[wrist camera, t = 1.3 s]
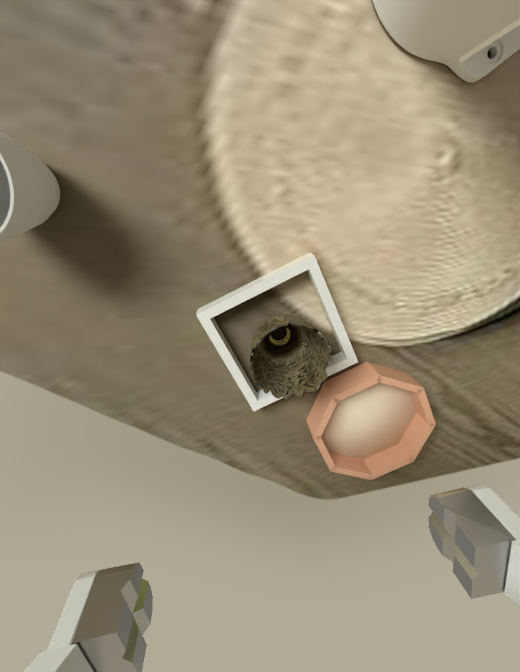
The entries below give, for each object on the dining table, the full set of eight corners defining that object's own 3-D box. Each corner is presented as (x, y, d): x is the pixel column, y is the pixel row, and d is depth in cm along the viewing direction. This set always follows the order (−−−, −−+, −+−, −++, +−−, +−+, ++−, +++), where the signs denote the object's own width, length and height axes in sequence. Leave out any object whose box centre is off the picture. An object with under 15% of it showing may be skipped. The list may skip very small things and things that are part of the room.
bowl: (398, 346, 39) (414, 359, 36) (427, 430, 44) (443, 448, 41) (293, 395, 40) (299, 412, 37) (333, 472, 45) (342, 492, 42)
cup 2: (299, 368, 39) (317, 407, 31) (238, 356, 37) (241, 392, 30) (320, 309, 36) (344, 335, 29) (255, 293, 35) (263, 315, 28)
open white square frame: (309, 252, 34) (314, 255, 32) (352, 354, 39) (358, 362, 37) (197, 309, 35) (196, 314, 33) (252, 401, 40) (253, 411, 38)
